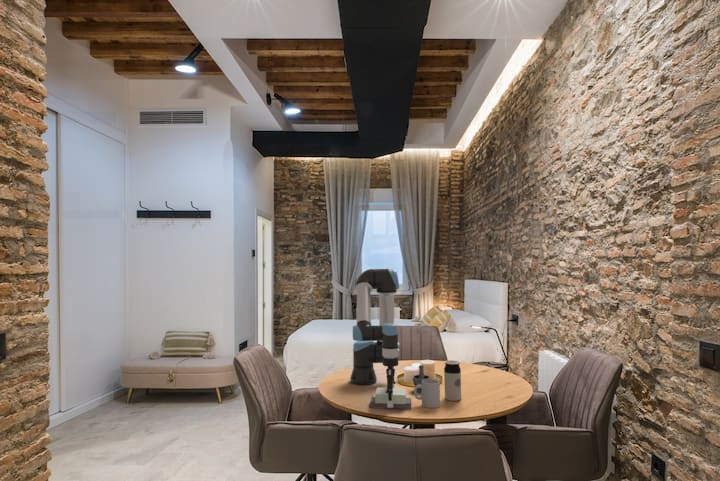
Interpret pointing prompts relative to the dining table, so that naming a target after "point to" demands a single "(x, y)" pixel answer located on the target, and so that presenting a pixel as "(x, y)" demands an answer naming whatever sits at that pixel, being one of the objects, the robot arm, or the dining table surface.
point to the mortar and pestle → (420, 378)
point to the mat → (401, 406)
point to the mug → (429, 393)
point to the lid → (398, 395)
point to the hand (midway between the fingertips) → (391, 402)
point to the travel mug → (452, 380)
